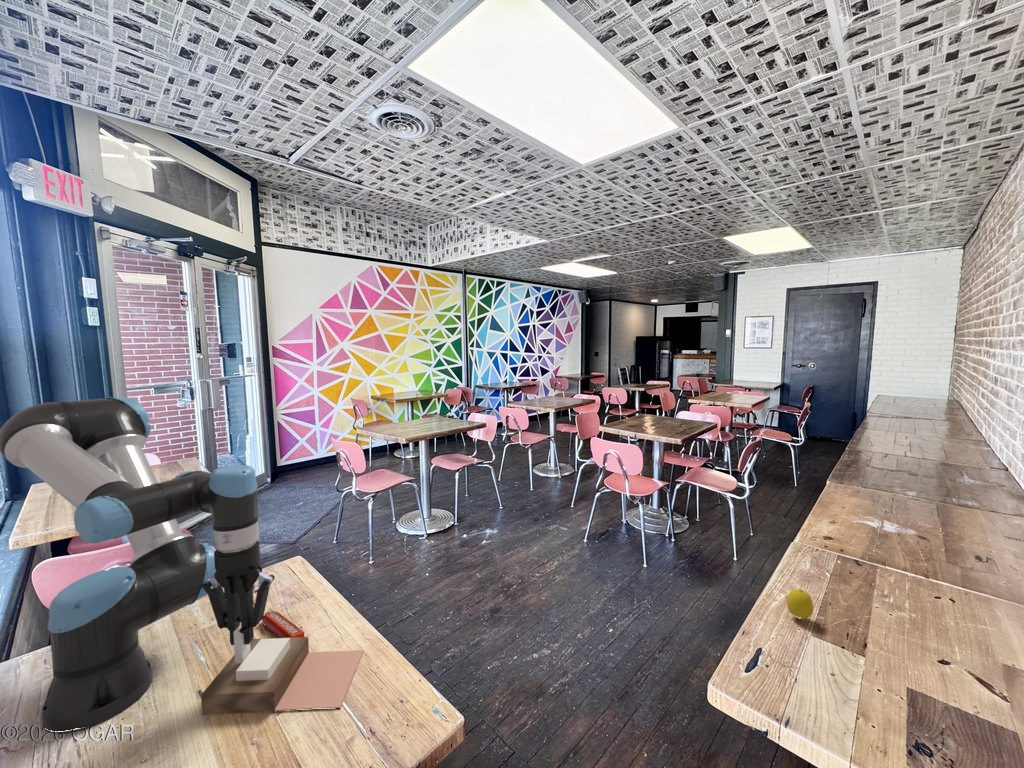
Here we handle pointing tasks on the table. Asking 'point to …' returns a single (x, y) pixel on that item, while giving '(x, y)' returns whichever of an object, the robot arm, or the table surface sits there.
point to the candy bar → (281, 625)
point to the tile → (263, 659)
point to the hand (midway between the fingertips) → (243, 658)
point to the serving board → (253, 684)
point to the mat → (321, 680)
